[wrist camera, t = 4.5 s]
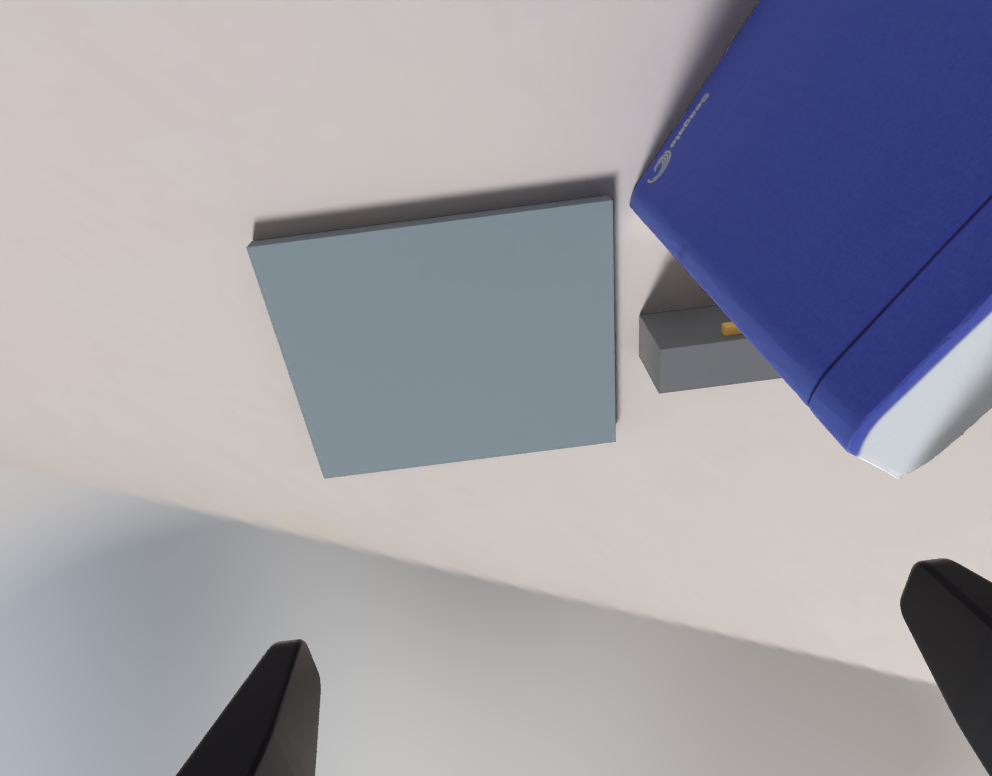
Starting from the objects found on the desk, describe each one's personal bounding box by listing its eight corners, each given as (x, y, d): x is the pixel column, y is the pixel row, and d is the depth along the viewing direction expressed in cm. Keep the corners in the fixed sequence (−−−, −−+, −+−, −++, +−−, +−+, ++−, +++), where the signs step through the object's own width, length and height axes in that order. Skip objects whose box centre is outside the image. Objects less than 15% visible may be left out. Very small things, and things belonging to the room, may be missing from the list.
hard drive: (622, 203, 19) (833, 446, 9) (813, -84, 16) (1571, -273, 5) (662, 227, 20) (908, 486, 9) (855, -45, 16) (1628, -143, 6)
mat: (608, 195, 19) (612, 200, 18) (612, 432, 24) (615, 441, 23) (251, 240, 19) (246, 247, 18) (326, 468, 24) (324, 478, 23)
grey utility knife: (988, 262, 21) (1048, 291, 19) (971, 313, 22) (1027, 346, 20) (639, 306, 21) (660, 340, 19) (639, 356, 22) (659, 393, 20)
